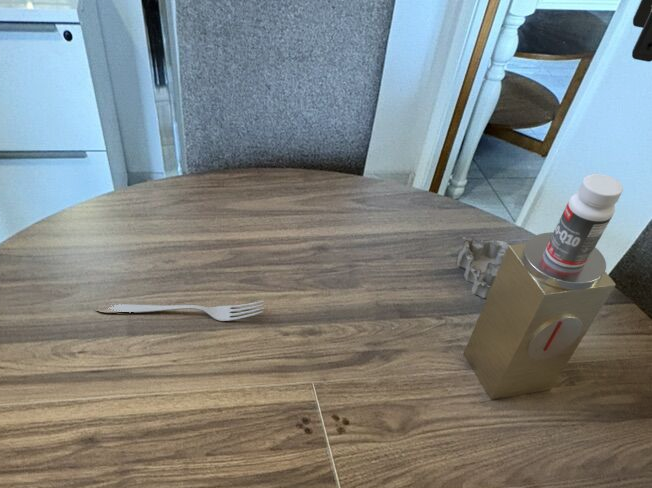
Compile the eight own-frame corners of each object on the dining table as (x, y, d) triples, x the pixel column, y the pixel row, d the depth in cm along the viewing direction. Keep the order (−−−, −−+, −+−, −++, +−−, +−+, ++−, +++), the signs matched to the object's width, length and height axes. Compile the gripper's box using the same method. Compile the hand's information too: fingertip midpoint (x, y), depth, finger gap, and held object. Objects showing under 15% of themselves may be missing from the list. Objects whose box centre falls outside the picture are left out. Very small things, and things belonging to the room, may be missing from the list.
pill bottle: (536, 249, 70) (569, 176, 63) (567, 239, 71) (603, 167, 64) (564, 273, 68) (602, 201, 61) (595, 262, 69) (636, 190, 62)
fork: (96, 301, 89) (93, 291, 87) (263, 308, 89) (264, 298, 88) (92, 316, 87) (90, 306, 85) (263, 323, 88) (264, 313, 86)
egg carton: (452, 256, 98) (459, 233, 95) (496, 254, 99) (505, 231, 96) (472, 300, 93) (481, 277, 89) (519, 298, 93) (530, 275, 90)
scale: (520, 343, 88) (580, 228, 73) (553, 392, 83) (624, 279, 68) (462, 352, 86) (510, 236, 71) (491, 402, 82) (550, 289, 66)
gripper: (816, -169, 45) (681, 79, 59) (792, -205, 53) (677, 22, 66) (710, -184, 46) (601, 63, 60) (701, -217, 54) (606, 9, 67)
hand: (641, 42), depth 63 cm, fingers open, 8 cm apart
